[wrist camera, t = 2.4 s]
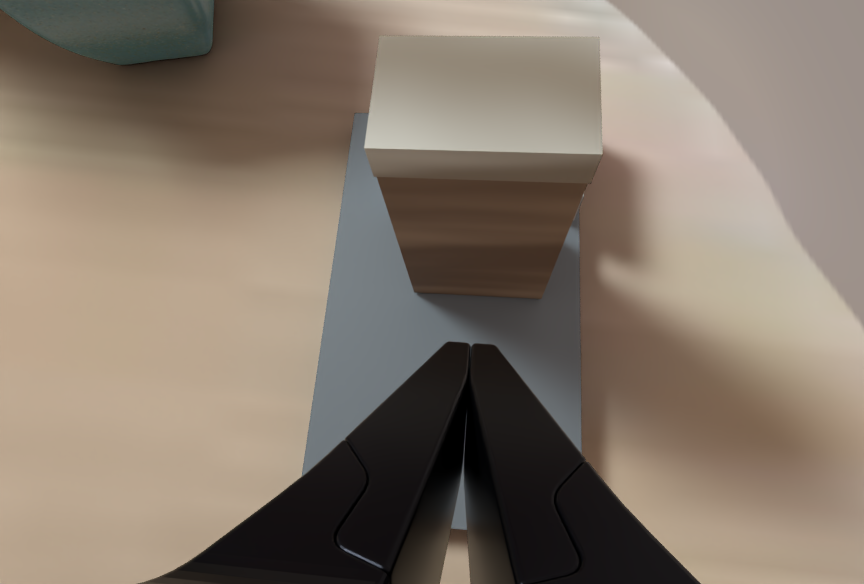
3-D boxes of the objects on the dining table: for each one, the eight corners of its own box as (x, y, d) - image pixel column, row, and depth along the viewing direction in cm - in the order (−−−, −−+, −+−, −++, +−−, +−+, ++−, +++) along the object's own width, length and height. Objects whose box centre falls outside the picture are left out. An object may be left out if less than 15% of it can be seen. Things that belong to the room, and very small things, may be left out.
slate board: (577, 536, 19) (595, 548, 16) (304, 512, 20) (276, 518, 17) (574, 131, 24) (587, 86, 21) (359, 126, 25) (344, 82, 22)
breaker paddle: (542, 300, 21) (602, 154, 11) (412, 293, 21) (363, 148, 12) (543, 227, 22) (599, 36, 12) (419, 223, 22) (379, 35, 13)
